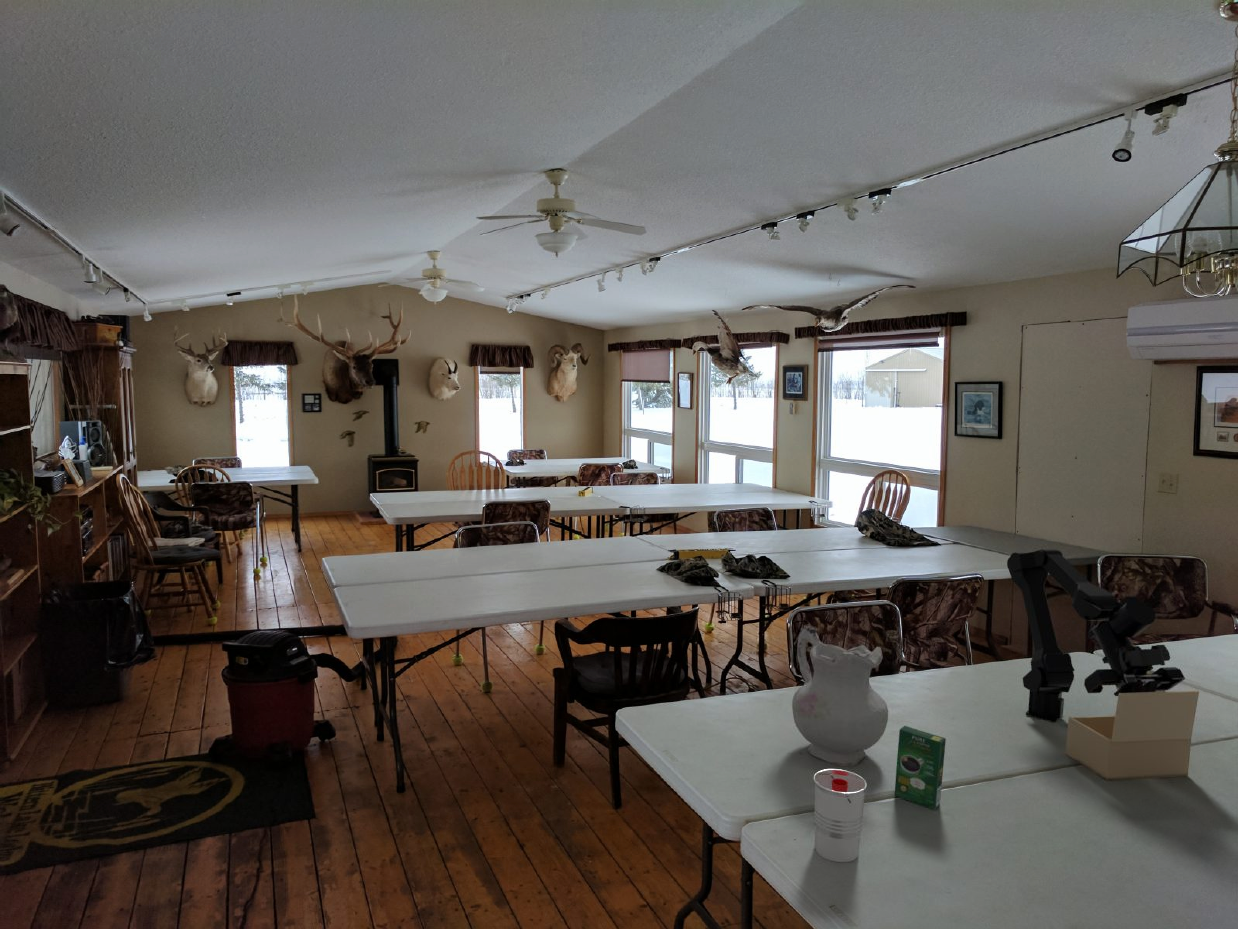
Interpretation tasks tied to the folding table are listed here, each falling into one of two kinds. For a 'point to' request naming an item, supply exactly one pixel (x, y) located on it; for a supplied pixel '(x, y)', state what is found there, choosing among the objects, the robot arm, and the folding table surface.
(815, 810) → the striped cup with float
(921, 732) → the coffee box
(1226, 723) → the folding table surface
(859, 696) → the ceramic pitcher
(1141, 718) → the carton flap
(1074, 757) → the carton
